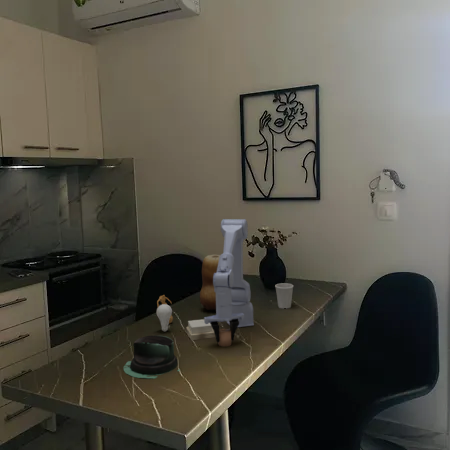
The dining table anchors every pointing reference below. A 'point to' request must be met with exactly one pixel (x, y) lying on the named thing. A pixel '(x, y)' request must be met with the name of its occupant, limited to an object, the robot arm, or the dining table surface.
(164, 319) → the lightbulb
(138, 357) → the black hat
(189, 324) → the cream slab
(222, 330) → the terracotta cylinder
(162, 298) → the figurine
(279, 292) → the dixie cup
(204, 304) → the butternut squash
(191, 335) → the birch slab
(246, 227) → the robot arm
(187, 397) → the dining table surface
